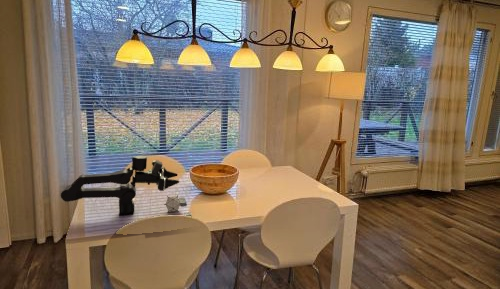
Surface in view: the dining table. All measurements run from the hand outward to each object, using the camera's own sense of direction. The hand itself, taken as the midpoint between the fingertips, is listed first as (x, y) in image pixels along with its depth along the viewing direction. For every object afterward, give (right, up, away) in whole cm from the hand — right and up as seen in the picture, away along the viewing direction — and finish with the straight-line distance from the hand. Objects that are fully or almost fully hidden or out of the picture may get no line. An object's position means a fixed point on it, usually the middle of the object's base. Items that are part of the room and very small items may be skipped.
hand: (178, 178), depth 168 cm
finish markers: (+3, -16, +3) cm, 16 cm away
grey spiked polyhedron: (-2, -17, -1) cm, 17 cm away
